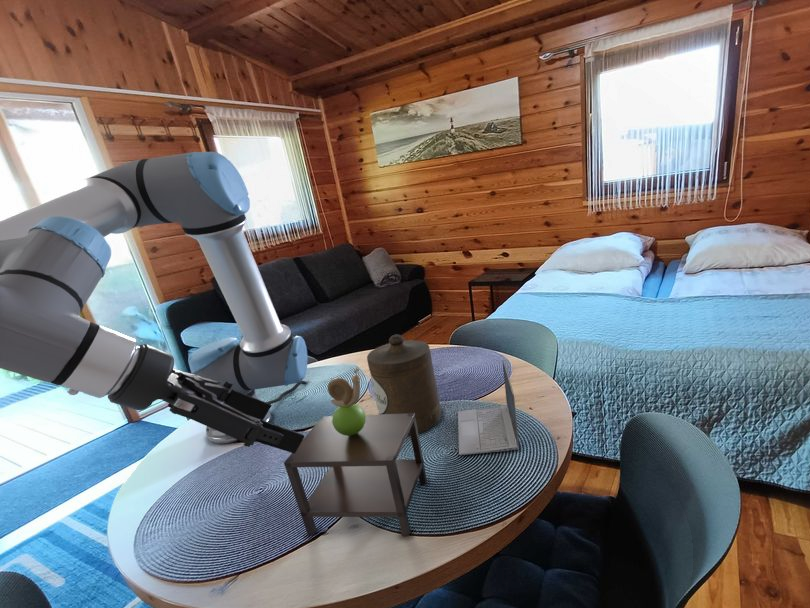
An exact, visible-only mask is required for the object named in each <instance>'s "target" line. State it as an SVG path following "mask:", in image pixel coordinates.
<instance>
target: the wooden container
mask: <svg viewBox="0 0 810 608" xmlns="http://www.w3.org/2000/svg"><path fill="white" fill-rule="evenodd" d="M388 342H389V343H386V344H383V345H380V346H378V347H376V348H374V349H372V350H371V351H370V352H369V353H367V356H366V358H367V359H366V361H367V366H368V370H369V373H370V379H371V383H372V388H373V395H374V398H375V403H376V407H377V411H378V415H379V414H405V413H415V418H416V424H417V429H418V434H419V433H423V432H425V431H429V429H431V428H433V427H434V426H436V425H437V424H438V423H439V421H440V420H441V419H442V409H441V408H442V407H441V403H440V395H439V390H438V385H437V379H436V375H435V371H434V370H435V369H434V364H433V360H432V353H431V348H430V346H429V344H428V343H427V342H425V341H421V340H405V338H404V336H402V335H400V334H398V333H397V334H393V335H391V336H390V338H389V339H388ZM407 436H410V431H409V433H408V435H407Z"/></svg>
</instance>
